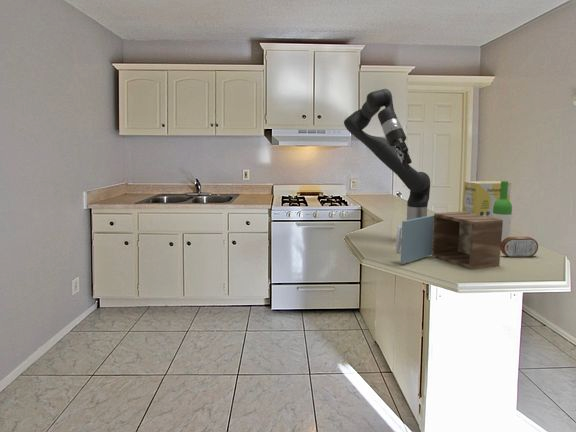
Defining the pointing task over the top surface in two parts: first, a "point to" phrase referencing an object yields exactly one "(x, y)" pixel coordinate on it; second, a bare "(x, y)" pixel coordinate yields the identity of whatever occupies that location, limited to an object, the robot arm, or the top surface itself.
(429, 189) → the robot arm
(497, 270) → the top surface
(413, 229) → the door
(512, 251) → the tin
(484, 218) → the cabinet
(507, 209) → the wine bottle
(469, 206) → the pasta box
